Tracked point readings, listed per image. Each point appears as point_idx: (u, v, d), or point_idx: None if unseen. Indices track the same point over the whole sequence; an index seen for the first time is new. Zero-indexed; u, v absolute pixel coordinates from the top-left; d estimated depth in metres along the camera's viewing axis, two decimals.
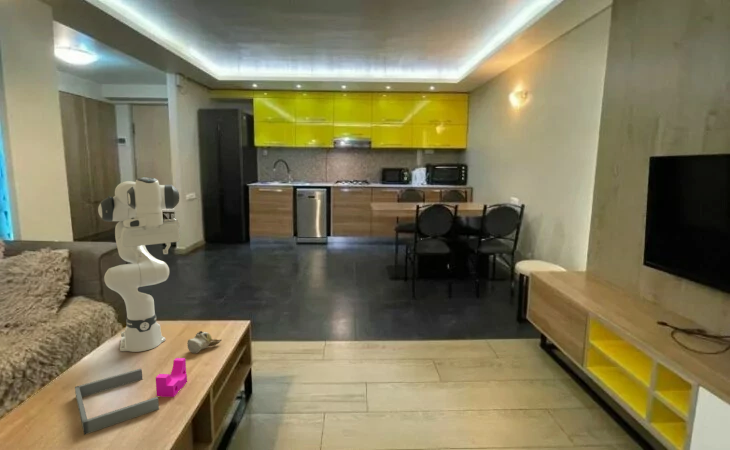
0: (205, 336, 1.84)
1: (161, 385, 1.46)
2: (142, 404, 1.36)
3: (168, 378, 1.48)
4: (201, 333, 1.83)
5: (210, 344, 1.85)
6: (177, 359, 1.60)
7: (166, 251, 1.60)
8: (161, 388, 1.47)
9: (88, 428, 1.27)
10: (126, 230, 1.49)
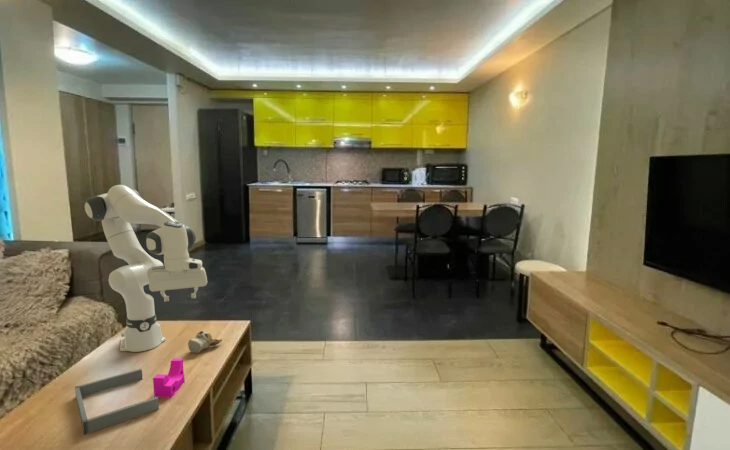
0: (206, 336, 1.84)
1: (158, 385, 1.46)
2: (142, 404, 1.36)
3: (165, 378, 1.48)
4: (202, 333, 1.83)
5: (211, 344, 1.85)
6: (174, 359, 1.60)
7: None
8: (158, 388, 1.46)
9: (88, 428, 1.27)
10: None
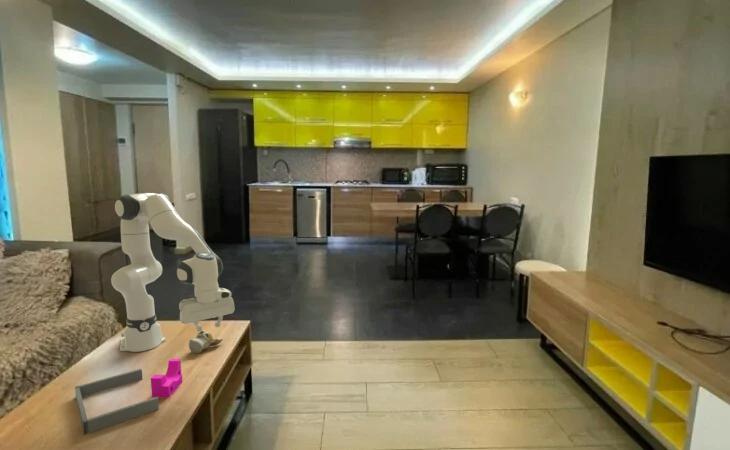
0: (206, 336, 1.84)
1: (156, 386, 1.46)
2: (142, 404, 1.36)
3: (163, 379, 1.47)
4: (202, 333, 1.83)
5: (212, 344, 1.85)
6: (172, 360, 1.59)
7: None
8: (156, 389, 1.46)
9: (88, 428, 1.27)
10: None
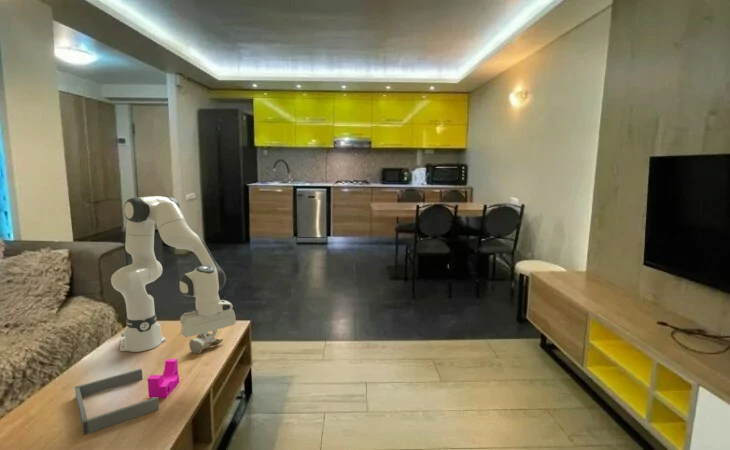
0: None
1: (153, 386, 1.46)
2: (142, 404, 1.36)
3: (160, 379, 1.47)
4: None
5: (212, 344, 1.85)
6: (169, 360, 1.59)
7: None
8: (153, 389, 1.46)
9: (88, 428, 1.27)
10: None
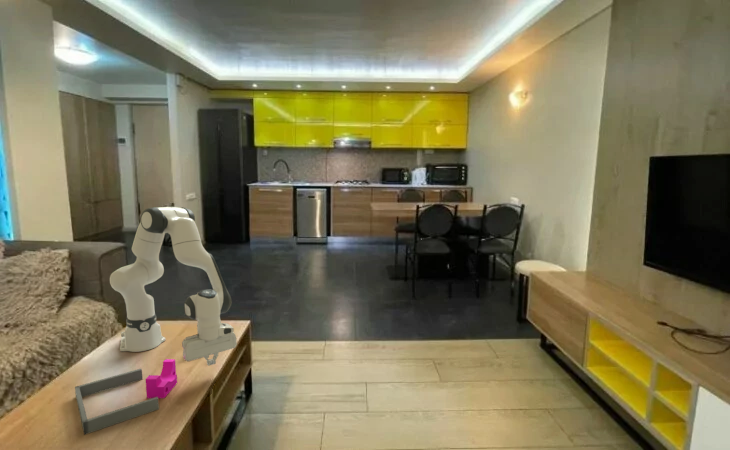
0: None
1: (151, 386, 1.46)
2: (142, 404, 1.36)
3: (158, 379, 1.47)
4: None
5: None
6: (167, 360, 1.59)
7: None
8: (151, 389, 1.46)
9: (88, 428, 1.27)
10: None
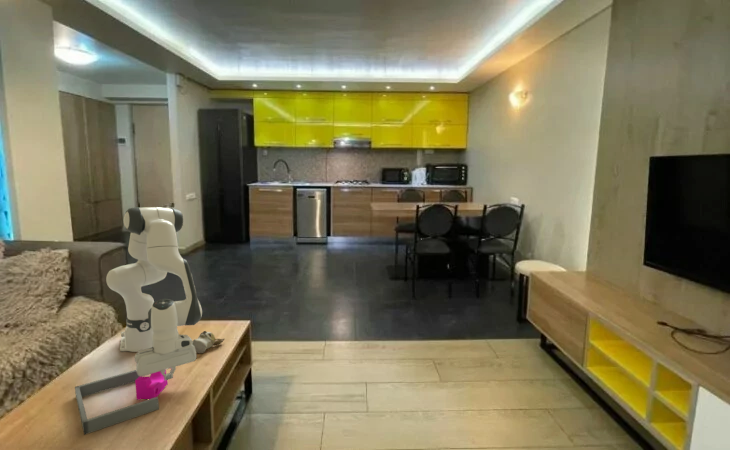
0: (209, 336, 1.84)
1: (141, 388, 1.44)
2: (142, 404, 1.36)
3: (148, 380, 1.46)
4: (205, 333, 1.84)
5: (215, 344, 1.86)
6: None
7: None
8: (141, 391, 1.45)
9: (88, 428, 1.27)
10: None
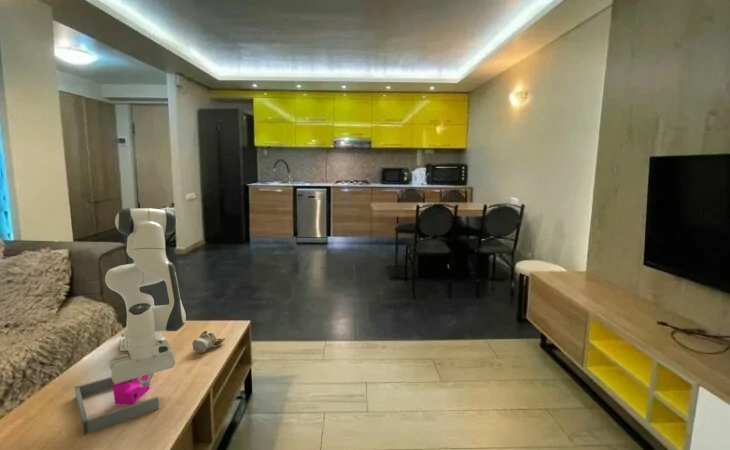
0: (210, 335, 1.84)
1: (119, 392, 1.42)
2: (142, 404, 1.36)
3: (127, 385, 1.43)
4: (206, 333, 1.84)
5: (215, 344, 1.86)
6: None
7: None
8: (119, 395, 1.42)
9: (88, 428, 1.27)
10: None
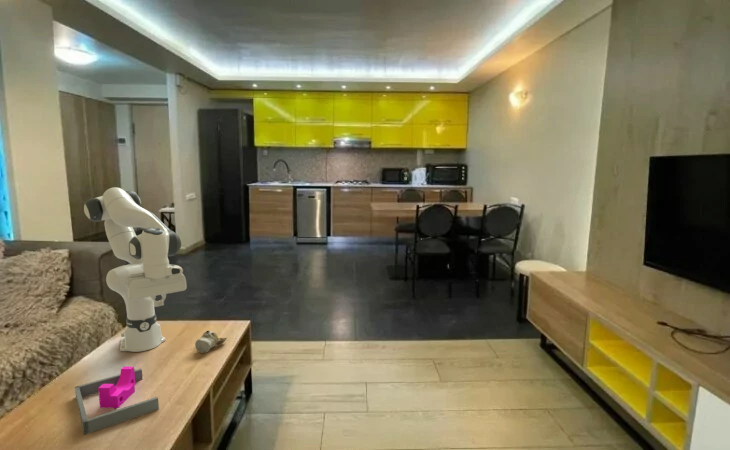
0: (213, 335, 1.85)
1: (104, 395, 1.40)
2: (142, 404, 1.36)
3: (112, 388, 1.41)
4: (209, 332, 1.84)
5: (218, 343, 1.87)
6: (125, 367, 1.53)
7: None
8: (104, 399, 1.40)
9: (88, 428, 1.27)
10: None
